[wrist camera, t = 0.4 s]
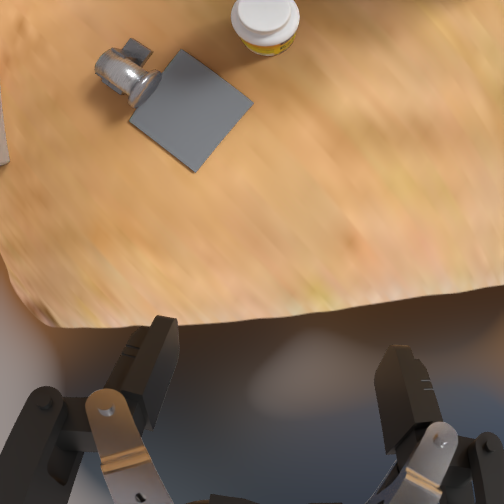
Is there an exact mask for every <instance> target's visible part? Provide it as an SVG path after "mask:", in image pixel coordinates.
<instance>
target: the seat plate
mask: <svg viewBox="0 0 504 504" xmlns="http://www.w3.org/2000/svg"><path fill="white" fill-rule="evenodd" d="M253 104H254V103H253V102H252V101H251V100H250V99H248V98H247V97H246V96H245V95H243V94H242V93H241V92H240V91H238V90H237V89H236V88H234V87H233V86H232V85H230V84H229V83H228V82H227V81H225V80H224V79H223V78H221V77H220V76H219V75H217V74H216V73H214V72H213V71H212V70H210V69H209V68H208V67H206V66H205V65H203V64H202V63H201V62H199V61H198V60H196V59H195V58H194V57H192V56H191V55H189V54H188V53H186V52H185V51H184V50H182V49H181V50H180V51H179V52H178V53H177V55H176V56H175V57H174V58H173V60H172V61H171V62H170V63H169V65H168V66H167V67H166V69H165V70H164V71H163V73H162V79H161V82H160V84H159V85H158V87H157V89H156V90H155V91H154V93H153V94H152V95H151V96H150V97H149V98H148V99H147V100H146V101H145V102H144V103H143V104H142V105H141V106H139V107H138V108H137V109H136V111H135V112H134V114H133V115H132V117H131V118H130V120H129V122H131V123H132V124H133V125H135V126H136V127H137V128H139V129H140V130H141V131H143V132H144V133H145V134H146V135H148V136H149V137H150V138H152V139H153V140H154V141H156V142H157V143H158V144H159V145H161V146H162V147H163V148H165V149H166V150H167V151H168V152H170V153H171V154H172V155H174V156H175V157H176V158H177V159H179V160H180V161H181V162H183V163H184V164H185V165H186V166H188V167H189V168H190V169H192V170H193V171H194V172H195V173H196V172H197V171H198V169H199V168H200V167H201V166H202V164H203V163H204V162H205V161H206V159H207V158H208V157H209V156H210V154H211V153H212V152H213V151H214V150H215V148H216V147H217V146H218V145H219V143H220V142H221V141H222V140H223V139H224V137H225V136H226V135H227V134H228V133H229V131H230V130H231V129H232V128H233V127H234V126H235V124H236V123H237V122H238V121H239V120H240V119H241V117H242V116H243V115H244V114H245V113H246V112H247V111H248V109H249V108H250V107H251V106H252V105H253Z"/></svg>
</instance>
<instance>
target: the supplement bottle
mask: <svg viewBox="0 0 504 504" xmlns="http://www.w3.org/2000/svg"><path fill="white" fill-rule="evenodd" d="M299 19H300V15H299V10H298V7H297V5H296V3H295V2H294V0H237V1H236V2H235V4H234V5H233V8H232V11H231V22H232V25H233V28H234V30H235V31H236V33H237V34H238V36H239V37H240V39H241V40H242V41H243V43H244V44H245V46H246V47H247V48H248V49H249V50H251V51H252V52H254V53H256V54H259V55H263V56H273V55H278V54H280V53H282V52H284V51H286V50H287V49H288V48H289V47H290V46H291V44H292V43H293V41H294V38H295V35H296V32H297V29H298V26H299Z"/></svg>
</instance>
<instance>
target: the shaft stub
mask: <svg viewBox="0 0 504 504" xmlns="http://www.w3.org/2000/svg"><path fill="white" fill-rule="evenodd" d="M152 53H153V51H151V50H150V49H148V48H147V47H145V46H144V45H142V44H141V43H139V42H138V41H136V40H135V39H133V38H130V39H129V41H128V42H127V43H126V45H125V46H124V48H123V49H117V48H111V49H109V50H107V51H106V52H105V53H103V54H102V55H101V57H100V58H99V59H98V61H97V63H96V65H95V72H96V73H95V74H97V75H98V76H100V77H101V78H102V82H103V83H105V84H106V85H107V86H109V87H110V88H112V89H113V90H114V91H116V92H117V93H118V94H120V95H124V93H126V94H127V95H128V96H129V98H128V104H129V105H130V106H131V107H133V108H137V107H139V106H141V105H142V104H143V103H144V102H145V101H146V100H147V99H148V98H149V97H150V96H151V95H152V94H153V93H154V91H155V90H156V89H157V87H158V85H159V84H160V82H161V79H162V73H161V72H159V71H158V70H152V71H150V72H147V71H145V70H144V69H143V68H142V67H143V65H144V64H145V63H146V61H147V60H148V59H149V57H150V56H151V55H152Z"/></svg>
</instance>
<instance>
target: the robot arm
mask: <svg viewBox="0 0 504 504" xmlns="http://www.w3.org/2000/svg"><path fill="white" fill-rule="evenodd" d="M178 336H179V335H178V322H177V319H176V318H170V317H165V316H159V315H157V316H156V317H155V318H154V320H153V322H152V324H151V326H150V328H149V327H144V326H141V327H140V328H139V329H137V330H136V331H135V332H134V333H133V334H132V335H131V336H130V338H129V340H128V342H127V344H126V347H125V348H124V350H123V351H122V355H120V357H119V359H118V361H117V363H116V365H115V367H114V369H113V371H112V373H111V375H110V377H109V379H108V381H107V382H106V384H105V386H104V388H103V389H100V390H97V391H95V392H93V393H92V394H91V395H90V396H89V397H84V398H78V397H62V395H61V393H60V392H59V391H58V390H57V389H55V388H53V387H50V386H44V387H39V388H37V389H36V390H34V391H33V392H32V393H31V394H30V396H29V397H28V399H27V401H26V403H25V405H24V407H23V409H22V411H21V413H20V415H19V416H18V418H17V421H16V423H15V425H14V426H13V429H12V431H11V433H10V435H9V437H8V439H7V441H6V443H5V446H4V448H3V450H2V452H1V454H0V504H67V503H68V500H69V497H70V493H71V490H72V487H73V484H74V481H75V478H76V475H77V472H78V469H79V466H80V463H81V460H82V457H83V455H84V452H99V455H100V458H101V469H102V472H103V475H104V478H105V480H106V483H107V486H108V488H109V491H110V493H111V495H112V498H113V501H114V503H115V504H174V503H173V502H172V500H171V498H170V496H169V494H168V492H167V490H166V488H165V487H164V485H163V483H162V481H161V479H160V477H159V475H158V473H157V471H156V469H155V467H154V465H153V462H152V460H151V458H150V456H149V454H148V452H147V450H146V448H145V446H144V444H143V441H142V439H141V437H142V434H143V431H144V429H146V430H150V431H153V429H154V427H155V424H156V421H157V418H158V415H159V412H160V409H161V406H162V404H163V401H164V398H165V395H166V392H167V389H168V386H169V384H170V381H171V378H172V375H173V372H174V370H175V367H176V364H177V361H178V356H179V337H178ZM374 386H375V391H376V396H377V402H378V407H379V413H380V419H381V425H382V431H383V438H384V444H385V450H386V455H389V454H396V456H397V460H396V461H395V462H394V464H393V465H392V467H391V469H390V470H389V472H388V473H387V475H386V476H385V478H384V479H383V481H382V482H381V484H380V485H379V487H378V488H377V490H376V491H375V493H374V494H373V495H372V497H371V498H370V499H369V500H368V501H367V502H366V503H365V504H438V502H440V504H504V449H503V446H502V443H501V441H500V439H499V438H498V437H497V436H496V435H495V434H493V433H491V432H484V433H482V434H480V435H479V436H478V437H477V438H476V439H472V438H467V437H462V436H458V435H457V433H456V431H455V430H454V428H453V427H452V426H450V425H449V424H447V423H444V422H443V419H442V416H441V413H440V409H439V406H438V402H437V399H436V396H435V393H434V391H433V387H432V384H431V382H430V378H429V375H428V372H427V369H426V368H425V366H424V365H423V364H422V363H421V361H420V360H419V359H414V356H413V354H412V350H411V348H410V347H409V346H407V345H390V346H389V347H388V349H387V351H386V353H385V355H384V357H383V359H382V361H381V362H380V365H379V366H378V368H377V370H376V373H375V378H374ZM472 480H473V484H474V491H475V497H476V503H474V496H473V490H472V483H471V481H472ZM186 504H258V503H255V502H252V501H249V500H246V499H242V498H235V497H227V496H221V495H215V494H211V495H210V500H200V501H194V502H190V503H186ZM310 504H342V503H310Z"/></svg>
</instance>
